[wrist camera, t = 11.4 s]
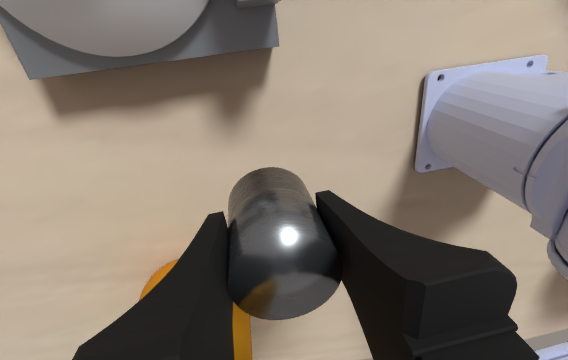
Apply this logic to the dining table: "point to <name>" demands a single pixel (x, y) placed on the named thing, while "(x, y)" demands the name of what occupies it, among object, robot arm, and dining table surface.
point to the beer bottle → (239, 318)
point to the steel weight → (278, 247)
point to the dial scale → (131, 32)
